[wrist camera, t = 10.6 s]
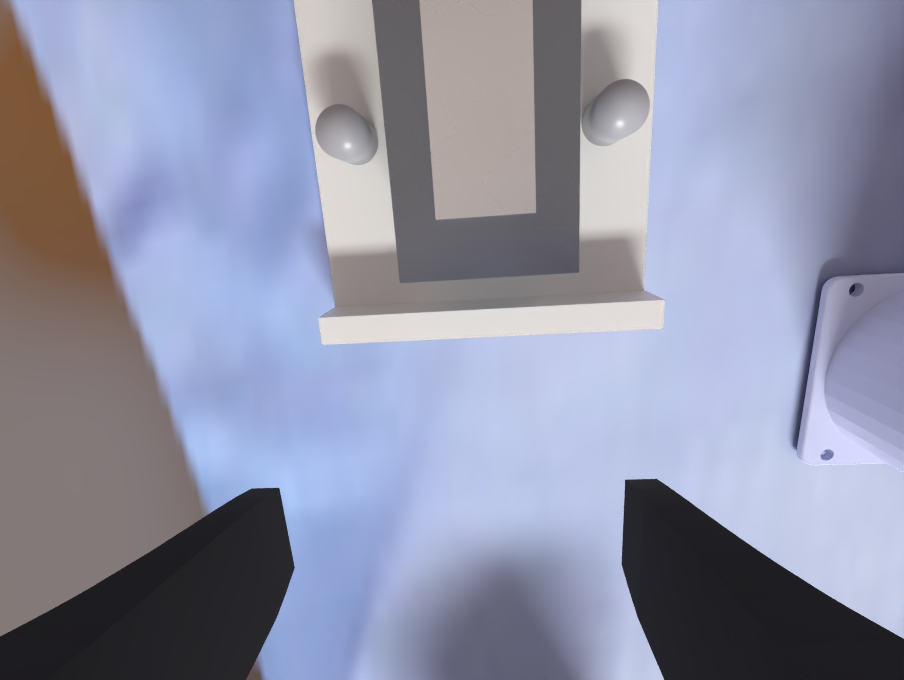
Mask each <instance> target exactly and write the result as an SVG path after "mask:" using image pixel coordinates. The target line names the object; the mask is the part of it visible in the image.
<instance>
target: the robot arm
mask: <svg viewBox="0 0 904 680" xmlns="http://www.w3.org/2000/svg"><path fill="white" fill-rule="evenodd" d="M853 284H855V287H856V288H855V290H854V292H853V293H851V294H849V289H850V287H851V286H852V285H853ZM824 450H827V451H826V453H825V454H823V455H821V453H822V452H823V451H824ZM797 456H798V458H799V459H800V460H801V461H803V462H804V463H806V464H807V465H840V464H879V463H887V464H889V465H891V466H892V467H894V468H896V469H897V470H899V471H901V472H902V473H904V273H888V274H870V275H851V276H836V277H832V278H831V279H829V280H827V281H826V283H825V284H824V285H823V288H822V292H821V298H820V305H819V311H818V317H817V324H816V330H815V337H814V343H813V349H812V356H811V362H810V369H809V375H808V381H807V388H806V394H805V400H804V407H803V413H802V420H801V426H800V432H799V439H798V445H797ZM622 567H623V570H624V574H625V577H626V581H627V584H628V588H629V591H630V594H631V597H632V601H633V604H634V607H635V610H636V613H637V616H638V619H639V621H640V624H641V626H642V628H643V631H644V633H645V635H646V638H647V640H648V643H649V645H650V647H651V650H652V652H653V654H654V657H655V659H656V661H657V664H658V666H659V668H660V670H661V673H662V675H663V677H664V680H904V639H903V638H901V637H899V636H898V635H896V634H894V633H892V632H890V631H889V630H887V629H885V628H883V627H882V626H880V625H878V624H876V623H875V622H873V621H871V620H869V619H867V618H866V617H864V616H862V615H860V614H859V613H857V612H855V611H853V610H851V609H850V608H848V607H846V606H845V605H843V604H841V603H840V602H838V601H836V600H835V599H833V598H831V597H830V596H828V595H826V594H825V593H823V592H821V591H820V590H818V589H817V588H815V587H813V586H812V585H810V584H809V583H807V582H806V581H804V580H802V579H801V578H799V577H798V576H796V575H795V574H793V573H791V572H790V571H788V570H787V569H785V568H784V567H782V566H780V565H779V564H777V563H776V562H774V561H773V560H771V559H770V558H768V557H767V556H765V555H764V554H762V553H761V552H759V551H758V550H756V549H755V548H753V547H752V546H751V545H749V544H748V543H746V542H745V541H743V540H742V539H740V538H739V537H738V536H736V535H735V534H733V533H732V532H730V531H729V530H728V529H726V528H725V527H723V526H722V525H721V524H719V523H718V522H716V521H715V520H714V519H712V518H711V517H709V516H708V515H707V514H705V513H704V512H703V511H701V510H700V509H698V508H697V507H696V506H694V505H693V504H692V503H690V502H689V501H687V500H686V499H685V498H683V497H682V496H681V495H679V494H678V493H676V492H675V491H674V490H672V489H671V488H669V487H668V486H666V485H665V484H664V483H662V482H660V481H659V480H657V479H638V480H625V500H624V523H623V546H622ZM294 568H295V567H294V562H293V557H292V552H291V547H290V541H289V536H288V531H287V526H286V521H285V515H284V510H283V505H282V500H281V495H280V489H279V488H257V489H250V490H248V491H246V492H244V493H243V494H241V495H239V496H237V497H236V498H234V499H232V500H231V501H229V502H227V503H226V504H224V505H223V506H221V507H219V508H218V509H216V510H215V511H213V512H211V513H210V514H208V515H207V516H205V517H204V518H202V519H201V520H199V521H197V522H196V523H194V524H193V525H191V526H190V527H188V528H187V529H185V530H183V531H182V532H180V533H179V534H177V535H176V536H174V537H173V538H171V539H169V540H168V541H166V542H165V543H163V544H162V545H160V546H159V547H157V548H156V549H154V550H152V551H151V552H149V553H147V554H146V555H144V556H142V557H141V558H139V559H137V560H136V561H134V562H132V563H131V564H129V565H127V566H126V567H125V568H122V569H121V570H119V571H117V572H116V573H114V574H113V575H111V576H109V577H108V578H106V579H104V580H103V581H101V582H99V583H98V584H96V585H94V586H93V587H91V588H89V589H88V590H86V591H84V592H82V593H81V594H79V595H77V596H75V597H74V598H72V599H70V600H68V601H67V602H64V603H63V604H61V605H59V606H57V607H55V608H54V609H52V610H50V611H48V612H46V613H44V614H42V615H41V616H39V617H37V618H35V619H33V620H31V621H29V622H27V623H26V624H23V625H21V626H20V627H18V628H16V629H14V630H12V631H10V632H8V633H6V634H4V635H3V636H0V680H246V678H247V676H248V674H249V672H250V670H251V668H252V667H253V665H254V663H255V661H256V659H257V657H258V655H259V653H260V651H261V648H262V646H263V644H264V642H265V640H266V638H267V636H268V634H269V632H270V630H271V628H272V626H273V624H274V622H275V620H276V618H277V615H278V613H279V610H280V607H281V605H282V602H283V599H284V597H285V594H286V591H287V588H288V585H289V582H290V580H291V577H292V574H293V571H294Z"/></svg>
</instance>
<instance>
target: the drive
mask: <svg viewBox="0 0 904 680" xmlns="http://www.w3.org/2000/svg"><path fill="white" fill-rule="evenodd" d="M372 6H373V16H374V26H375V36H376V46H377V57H378V67H379V77H380V87H381V97H382V107H383V117H384V128H385V138H386V148H387V158H388V168H389V178H390V189H391V199H392V209H393V219H394V229H395V239H396V249H397V260H398V270H399V280H400V283H412V282H429V281H446V280H463V279H480V278H497V277H514V276H531V275H548V274H565V273H579V229H580V114H581V0H372Z"/></svg>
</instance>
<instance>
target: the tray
mask: <svg viewBox="0 0 904 680" xmlns="http://www.w3.org/2000/svg"><path fill="white" fill-rule="evenodd" d="M294 7H295V15H296V22H297V29H298V37H299V44H300V51H301V59H302V66H303V73H304V80H305V88H306V95H307V102H308V110H309V117H310V124H311V132H312V139H313V146H314V153H315V161H316V168H317V175H318V183H319V190H320V197H321V205H322V212H323V219H324V226H325V234H326V241H327V248H328V256H329V263H330V270H331V278H332V285H333V292H334V299H335V307H334V308H333V309H331V310H330V311H328V312H327V313H325V314H324V315H322V316H320V317H319V318H318V320H319V326H320V333H321V340H322V345H328V344H349V343H371V342H392V341H413V340H434V339H455V338H476V337H497V336H518V335H539V334H560V333H581V332H602V331H623V330H645V329H663V321H664V305H665V300H664V299H662V298H660V297H657V296H655V295H653V294H651V293H649V292H647V291H644V277H645V257H646V237H647V217H648V197H649V177H650V157H651V136H652V116H653V96H654V76H655V56H656V36H657V16H658V0H581V114H580V229H579V273H565V274H548V275H531V276H514V277H497V278H480V279H463V280H446V281H429V282H412V283H400V280H399V270H398V260H397V249H396V239H395V229H394V219H393V209H392V199H391V189H390V178H389V168H388V158H387V148H386V138H385V128H384V117H383V107H382V97H381V87H380V77H379V67H378V57H377V46H376V36H375V26H374V16H373V6H372V0H294Z"/></svg>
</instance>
